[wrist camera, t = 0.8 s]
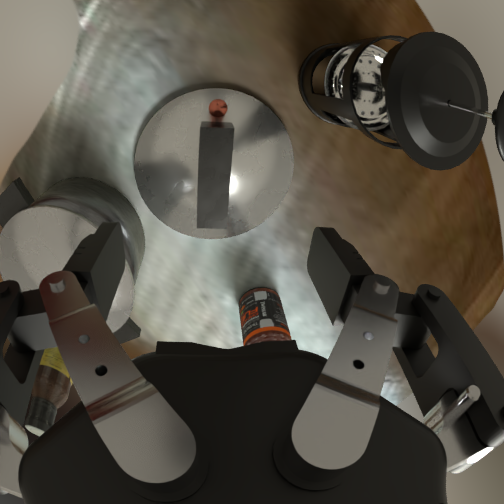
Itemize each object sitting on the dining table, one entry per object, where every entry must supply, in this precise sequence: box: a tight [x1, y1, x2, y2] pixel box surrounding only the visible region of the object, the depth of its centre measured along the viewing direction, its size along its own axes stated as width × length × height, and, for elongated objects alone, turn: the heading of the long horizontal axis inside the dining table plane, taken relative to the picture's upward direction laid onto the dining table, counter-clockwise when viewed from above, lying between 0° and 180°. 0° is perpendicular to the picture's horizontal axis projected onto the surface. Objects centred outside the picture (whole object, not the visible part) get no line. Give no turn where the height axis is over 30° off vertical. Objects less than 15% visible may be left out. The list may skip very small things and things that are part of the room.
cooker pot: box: [0, 177, 145, 344], centre depth 29 cm, size 22×17×9 cm
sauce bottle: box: [25, 347, 72, 436], centre depth 32 cm, size 6×6×20 cm
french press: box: [299, 32, 504, 170], centre depth 17 cm, size 12×9×23 cm
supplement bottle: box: [239, 288, 291, 346], centre depth 37 cm, size 6×6×11 cm
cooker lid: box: [134, 88, 294, 239], centre depth 29 cm, size 17×17×5 cm
